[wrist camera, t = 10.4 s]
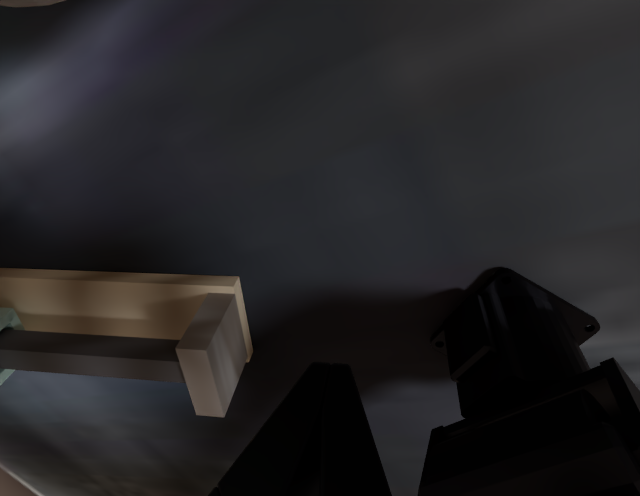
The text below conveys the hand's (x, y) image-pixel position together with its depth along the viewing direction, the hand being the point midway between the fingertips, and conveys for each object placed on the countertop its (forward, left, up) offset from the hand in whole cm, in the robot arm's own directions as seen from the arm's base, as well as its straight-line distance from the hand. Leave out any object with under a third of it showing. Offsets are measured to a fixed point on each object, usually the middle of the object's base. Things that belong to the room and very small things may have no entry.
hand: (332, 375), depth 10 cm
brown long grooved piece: (+10, +18, -13) cm, 24 cm away
